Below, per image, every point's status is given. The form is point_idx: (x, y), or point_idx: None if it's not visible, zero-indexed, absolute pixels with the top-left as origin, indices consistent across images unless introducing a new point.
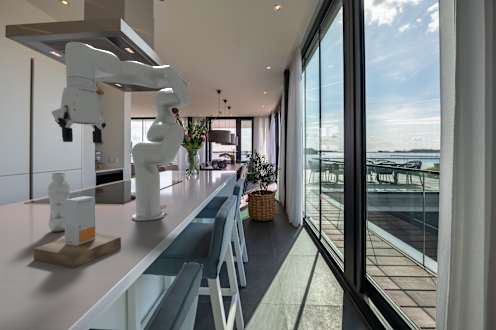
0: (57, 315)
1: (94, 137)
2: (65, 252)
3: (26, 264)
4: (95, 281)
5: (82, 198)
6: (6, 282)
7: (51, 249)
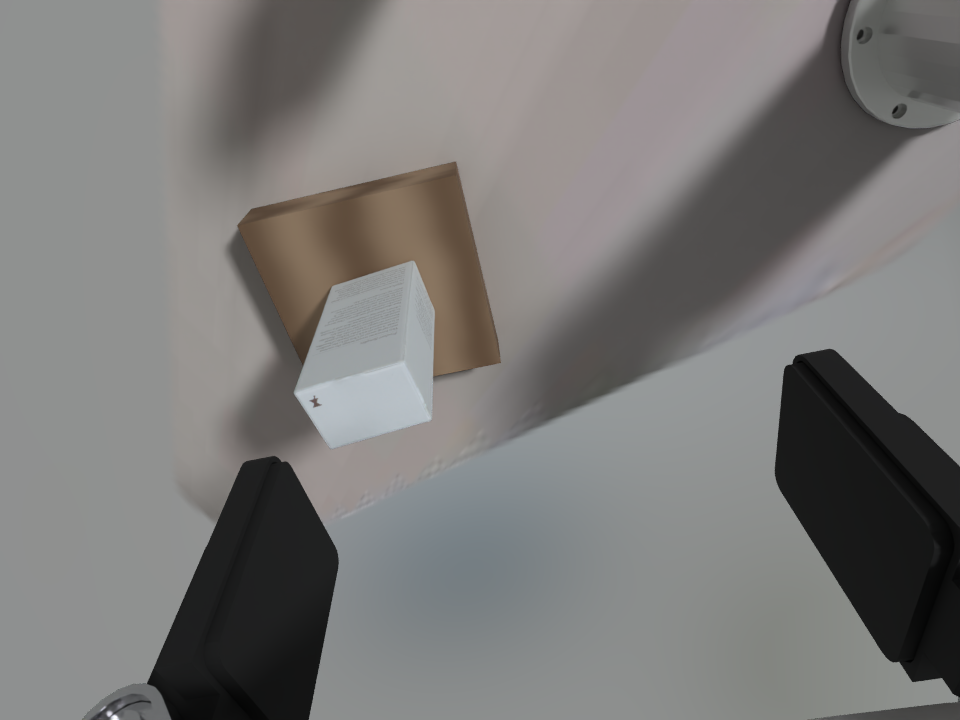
0: None
1: (834, 459)
2: None
3: (226, 232)
4: (337, 472)
5: (368, 424)
6: (173, 325)
7: (284, 294)
